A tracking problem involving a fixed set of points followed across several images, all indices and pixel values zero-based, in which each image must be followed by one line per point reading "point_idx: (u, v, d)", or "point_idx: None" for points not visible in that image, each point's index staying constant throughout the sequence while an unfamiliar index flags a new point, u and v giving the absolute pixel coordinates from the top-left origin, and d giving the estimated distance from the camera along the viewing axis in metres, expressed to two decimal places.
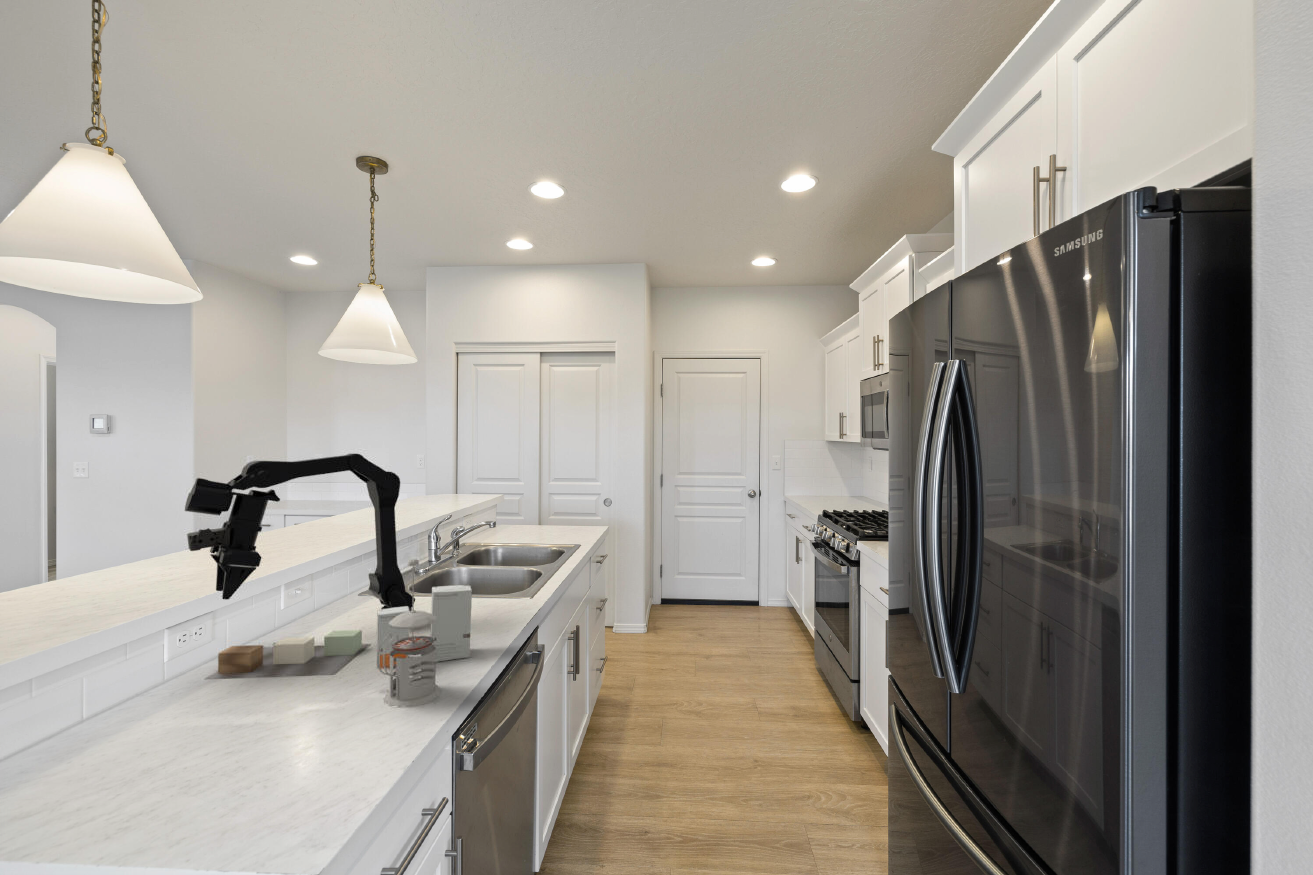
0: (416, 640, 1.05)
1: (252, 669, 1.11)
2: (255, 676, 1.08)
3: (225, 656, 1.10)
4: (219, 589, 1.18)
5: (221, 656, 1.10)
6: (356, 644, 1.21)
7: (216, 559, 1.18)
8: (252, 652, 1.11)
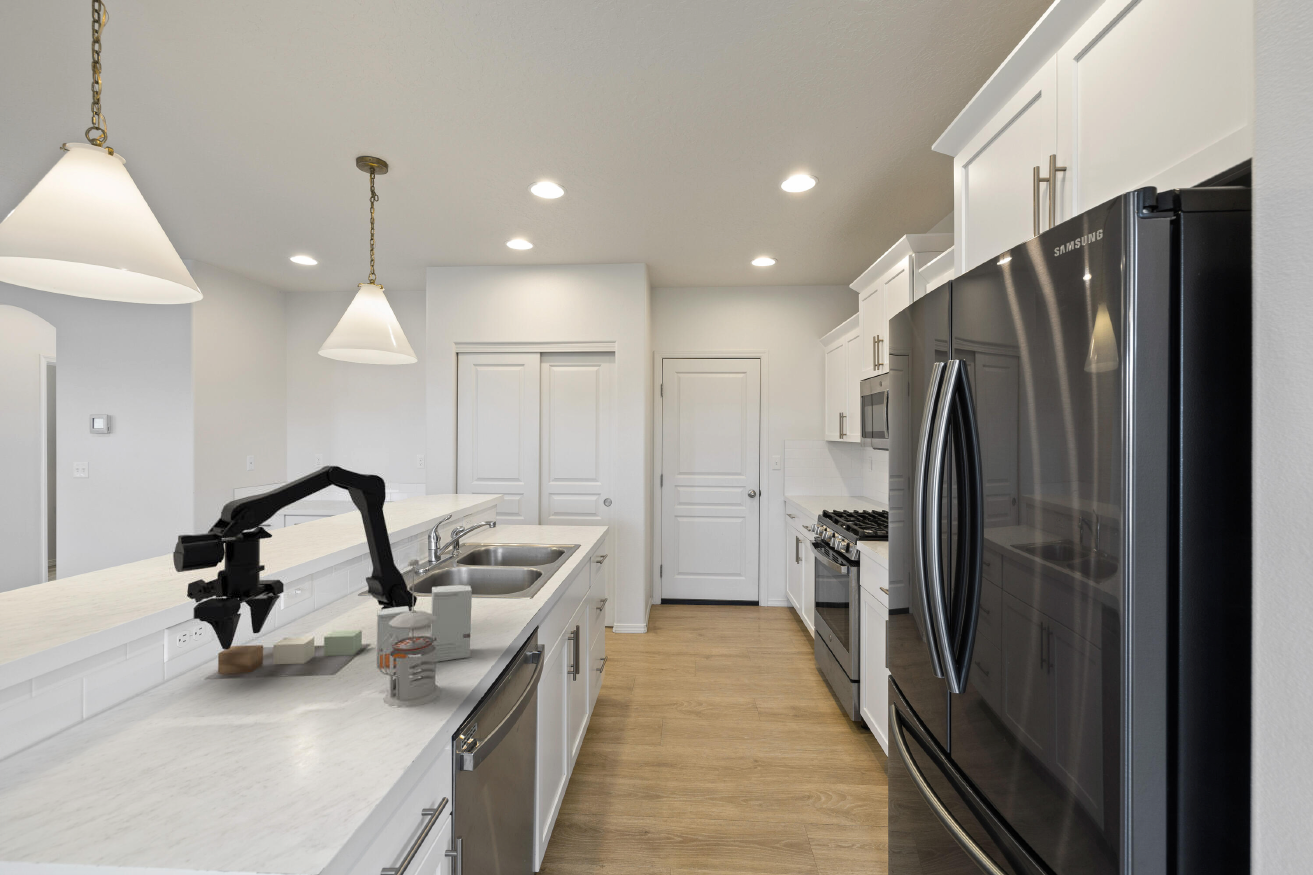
0: (416, 640, 1.05)
1: (252, 669, 1.11)
2: (255, 676, 1.08)
3: (225, 656, 1.10)
4: (255, 631, 1.17)
5: (221, 656, 1.10)
6: (356, 644, 1.21)
7: (247, 602, 1.17)
8: (252, 652, 1.11)
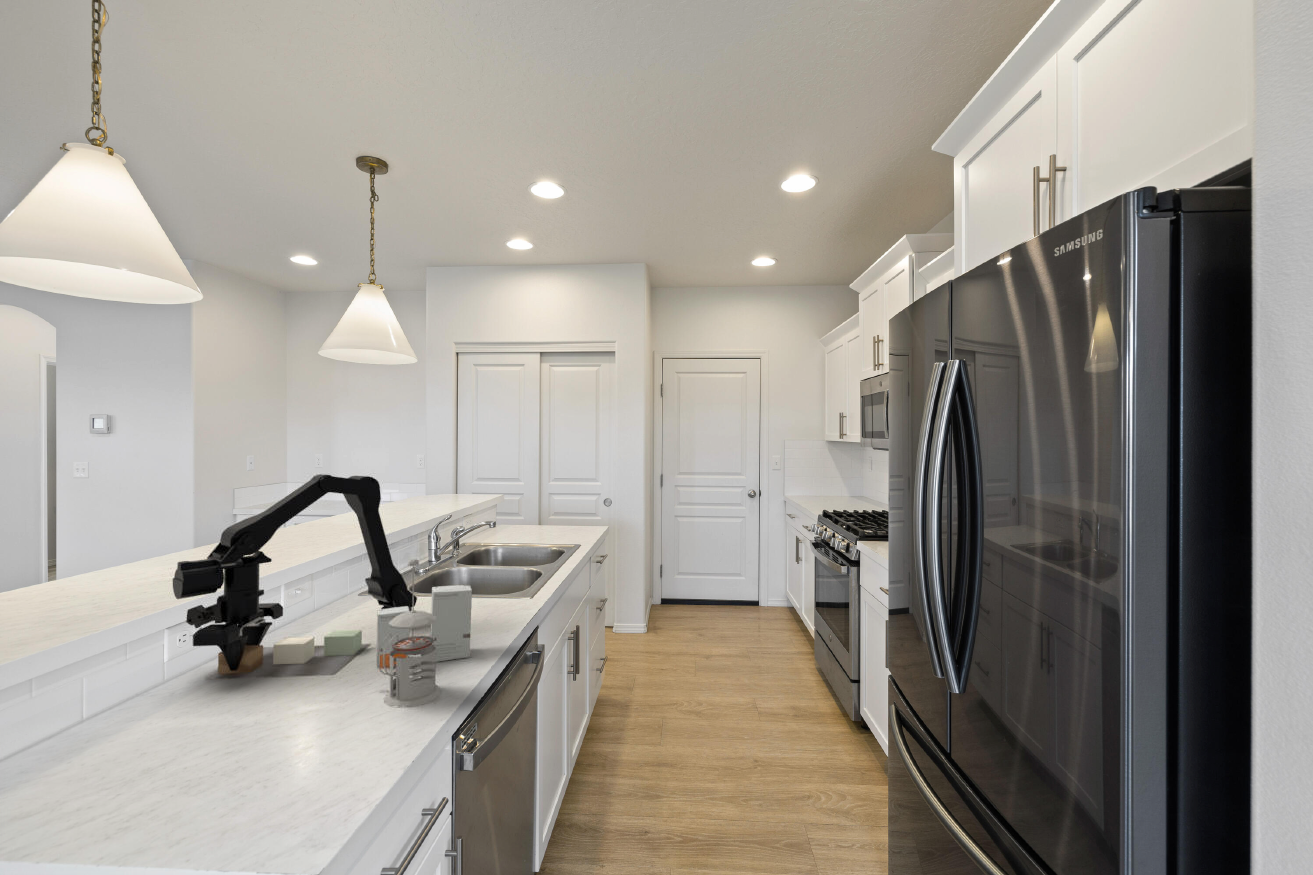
0: (416, 640, 1.05)
1: (252, 669, 1.11)
2: (255, 676, 1.08)
3: None
4: None
5: (221, 656, 1.10)
6: (356, 644, 1.21)
7: None
8: (252, 652, 1.11)
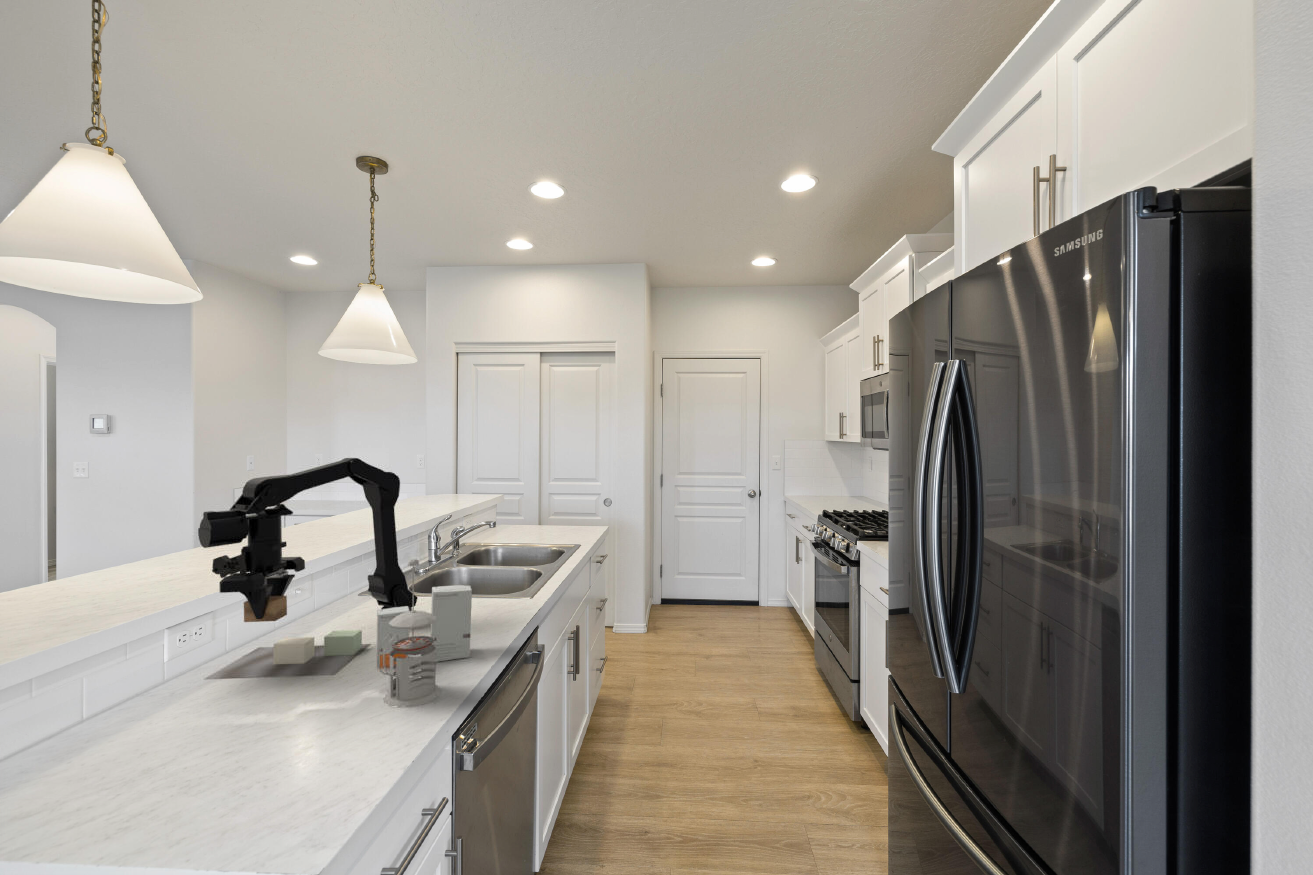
0: (416, 640, 1.05)
1: (277, 618, 1.13)
2: (255, 676, 1.08)
3: None
4: None
5: (246, 605, 1.12)
6: (356, 644, 1.21)
7: None
8: (276, 601, 1.13)
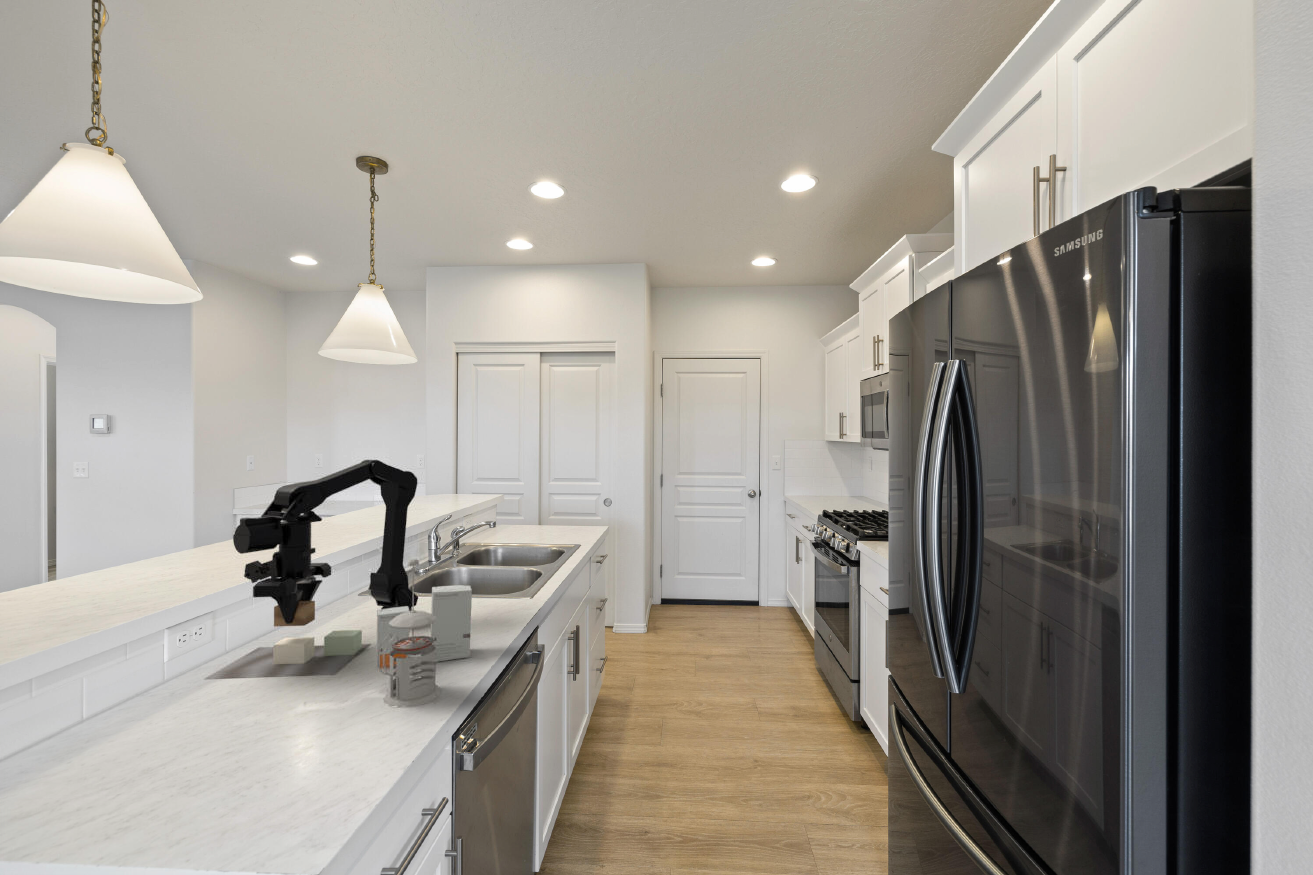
0: (416, 640, 1.05)
1: (306, 622, 1.16)
2: (255, 676, 1.08)
3: None
4: None
5: (277, 610, 1.15)
6: (356, 644, 1.21)
7: None
8: (306, 606, 1.16)
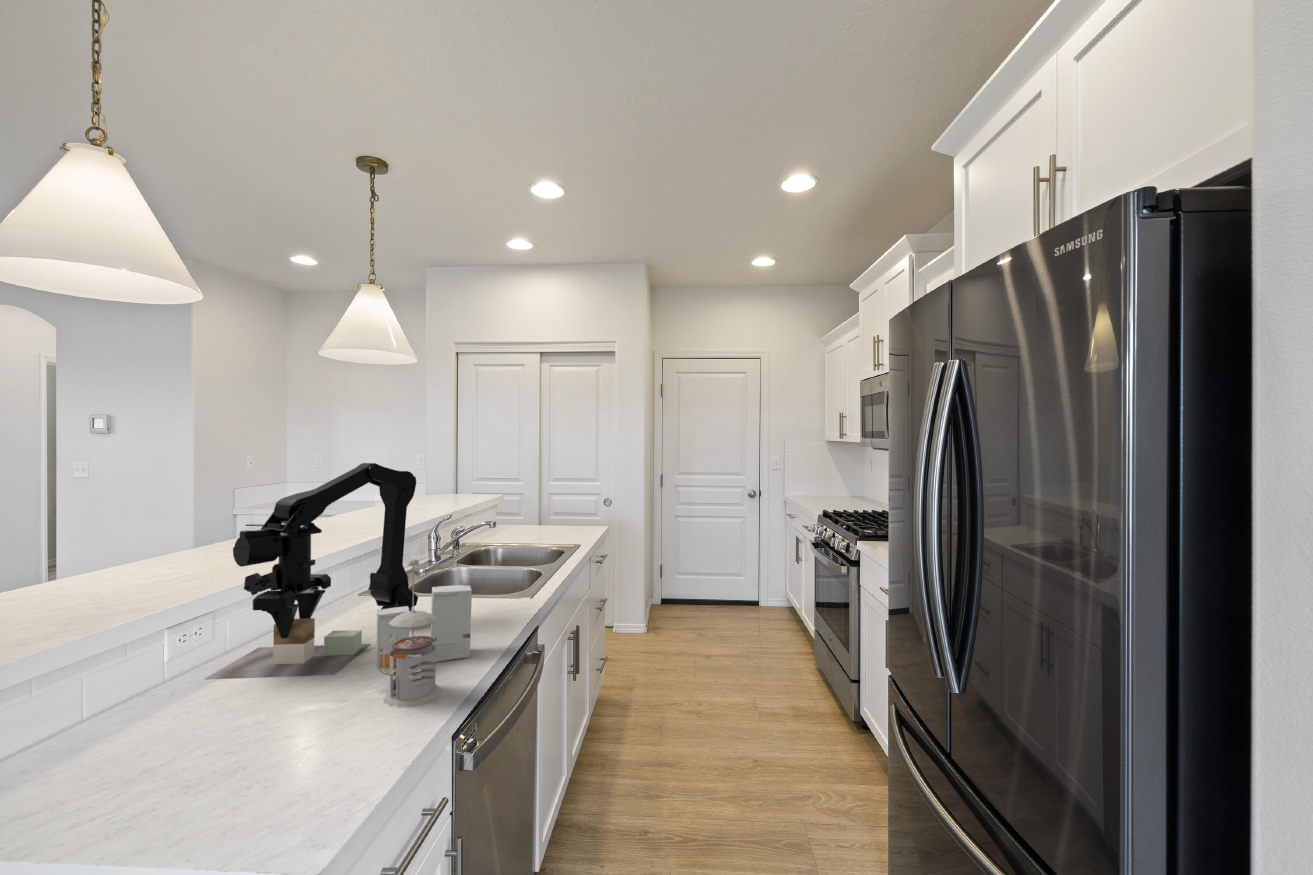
0: (416, 640, 1.05)
1: (305, 640, 1.16)
2: (255, 676, 1.08)
3: None
4: None
5: (276, 628, 1.15)
6: (356, 644, 1.21)
7: None
8: (305, 624, 1.16)
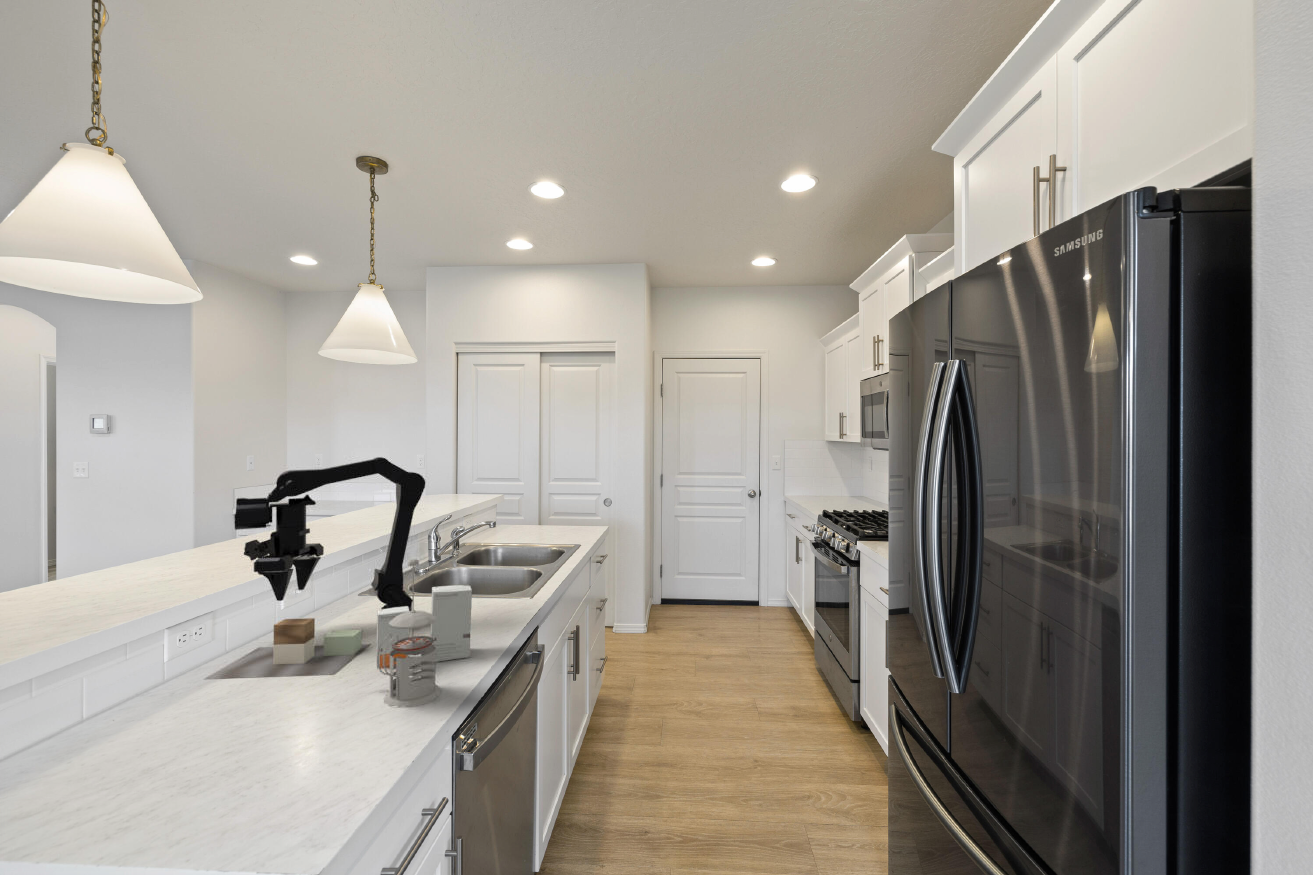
0: (416, 640, 1.05)
1: (305, 640, 1.16)
2: (255, 676, 1.08)
3: (280, 627, 1.15)
4: (300, 588, 1.31)
5: (276, 628, 1.15)
6: (356, 644, 1.21)
7: (293, 562, 1.31)
8: (305, 624, 1.16)
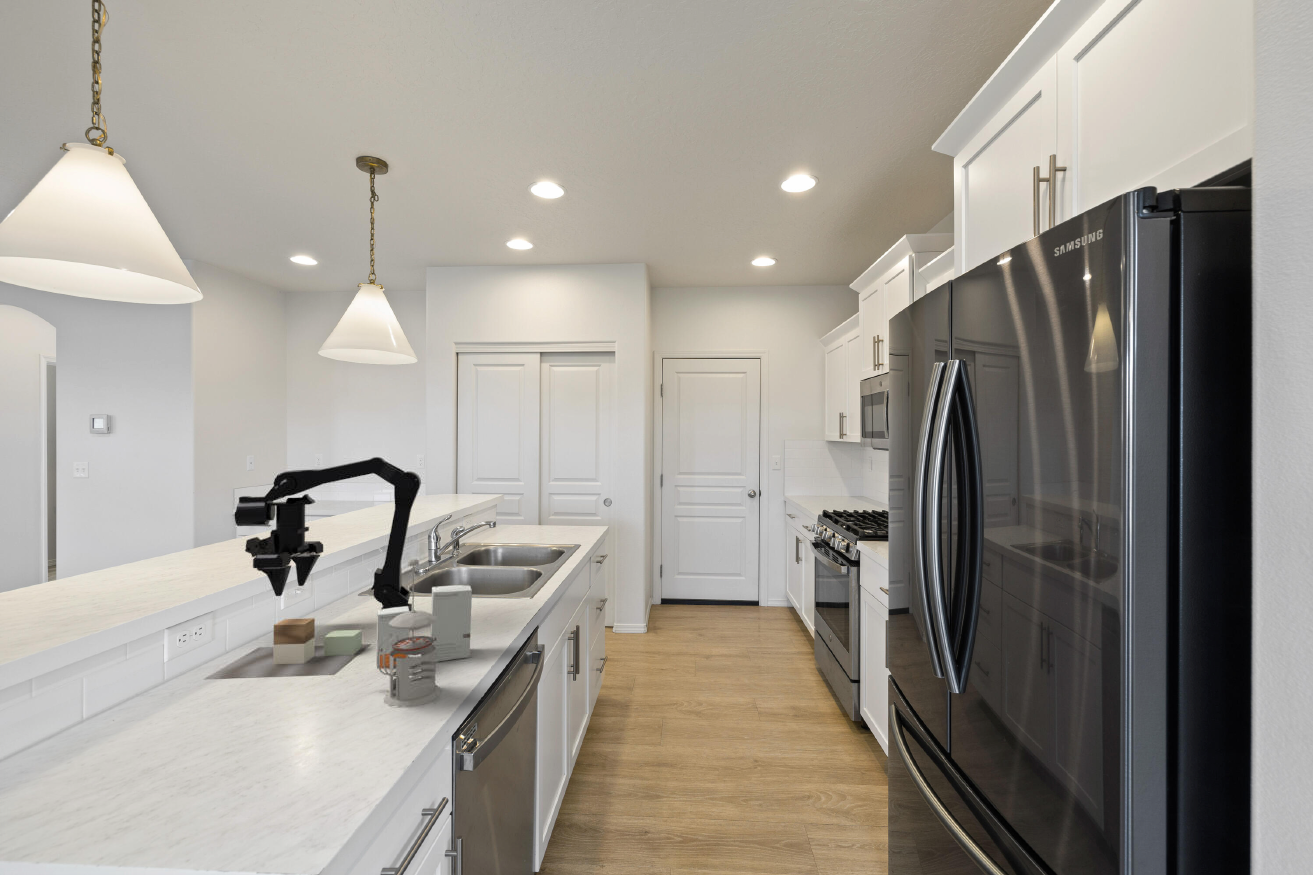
0: (416, 640, 1.05)
1: (305, 640, 1.16)
2: (255, 676, 1.08)
3: (280, 627, 1.15)
4: (300, 584, 1.35)
5: (276, 628, 1.15)
6: (356, 644, 1.21)
7: (293, 559, 1.36)
8: (305, 624, 1.16)
